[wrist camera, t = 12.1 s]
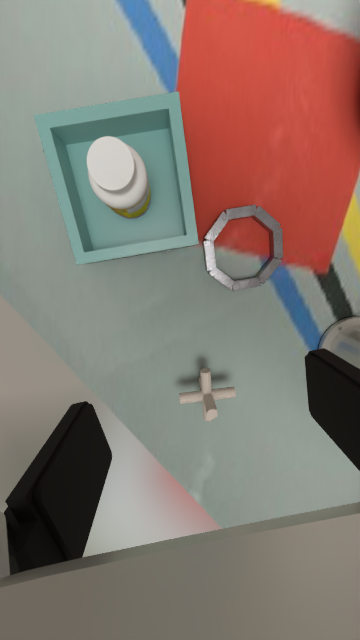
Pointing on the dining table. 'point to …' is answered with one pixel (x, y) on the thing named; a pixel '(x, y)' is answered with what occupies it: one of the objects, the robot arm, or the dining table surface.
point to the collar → (275, 246)
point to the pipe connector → (207, 395)
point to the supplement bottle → (119, 177)
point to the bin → (161, 165)
